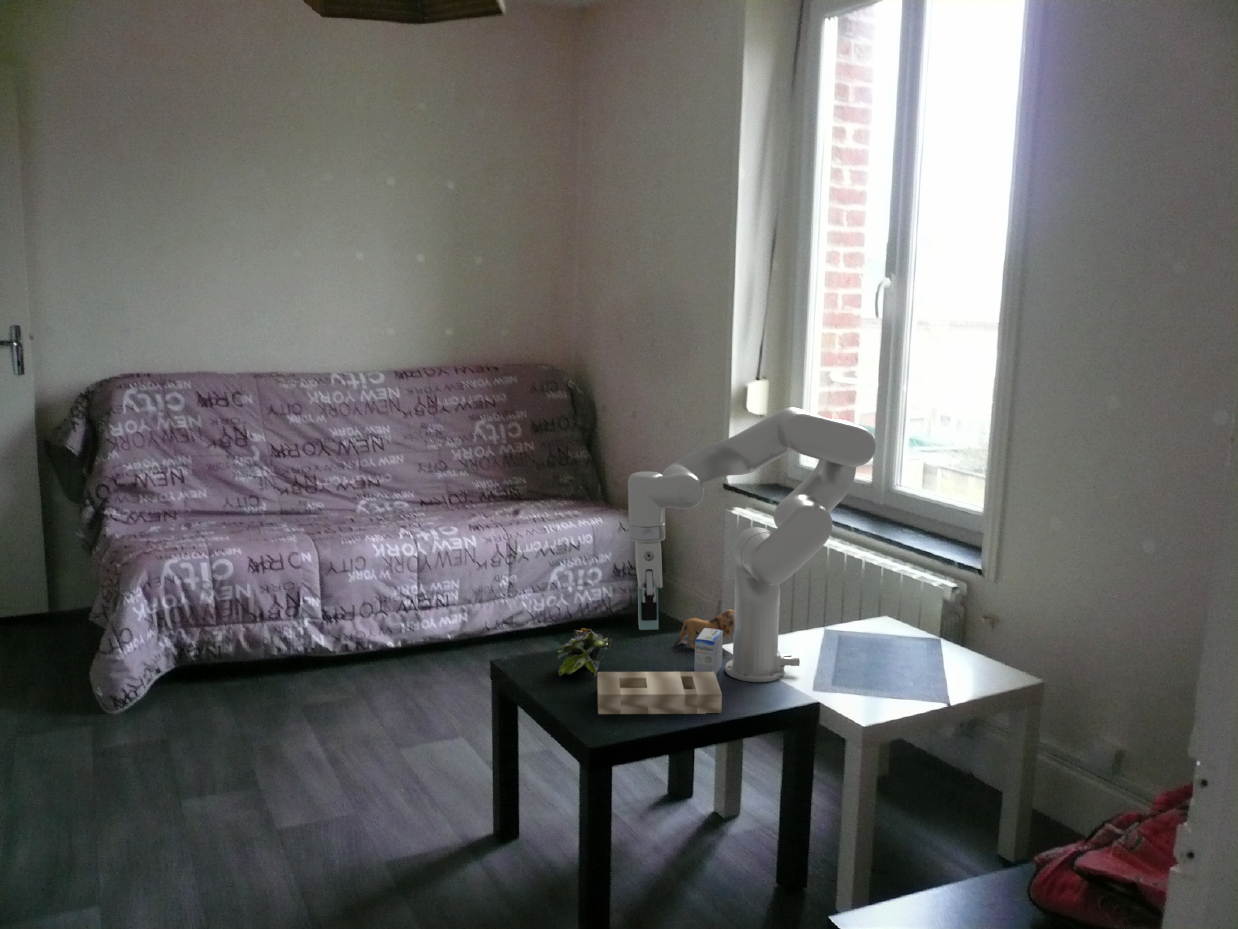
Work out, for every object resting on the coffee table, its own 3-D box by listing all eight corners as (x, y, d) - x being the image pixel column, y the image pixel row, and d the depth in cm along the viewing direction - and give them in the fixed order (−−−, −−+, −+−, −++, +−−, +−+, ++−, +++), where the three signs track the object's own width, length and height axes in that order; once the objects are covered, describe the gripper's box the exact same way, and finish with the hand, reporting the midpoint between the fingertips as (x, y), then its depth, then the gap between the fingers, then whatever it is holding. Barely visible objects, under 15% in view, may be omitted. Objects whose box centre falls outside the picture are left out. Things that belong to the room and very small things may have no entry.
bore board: (713, 690, 221) (714, 671, 220) (721, 713, 209) (721, 694, 208) (597, 690, 220) (597, 671, 219) (598, 714, 208) (598, 694, 207)
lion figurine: (736, 643, 249) (737, 606, 247) (738, 651, 244) (740, 613, 242) (673, 642, 249) (674, 605, 248) (674, 650, 244) (675, 612, 242)
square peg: (657, 623, 227) (656, 577, 226) (658, 629, 223) (657, 583, 222) (638, 623, 227) (637, 578, 225) (639, 629, 223) (638, 583, 222)
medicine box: (702, 665, 235) (703, 627, 234) (722, 667, 234) (723, 629, 232) (693, 677, 228) (694, 638, 226) (714, 680, 226) (715, 641, 225)
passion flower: (581, 690, 234) (605, 640, 238) (606, 698, 225) (630, 646, 228) (541, 668, 230) (566, 617, 233) (564, 675, 220) (589, 622, 223)
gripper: (668, 541, 214) (669, 629, 217) (662, 521, 230) (663, 603, 233) (630, 542, 213) (632, 630, 217) (627, 522, 230) (628, 604, 233)
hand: (648, 615), depth 225 cm, fingers closed on square peg, 4 cm apart
